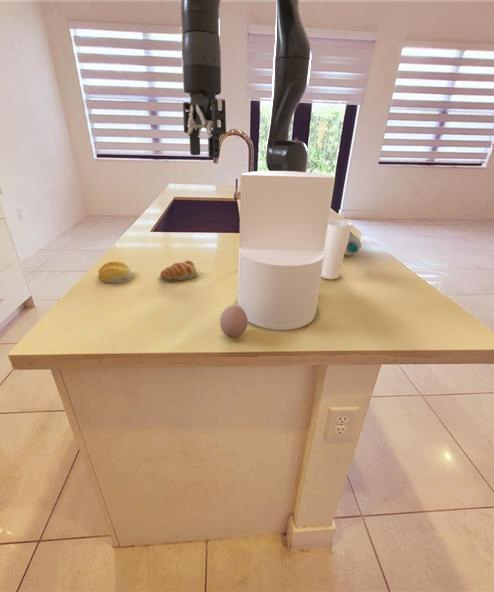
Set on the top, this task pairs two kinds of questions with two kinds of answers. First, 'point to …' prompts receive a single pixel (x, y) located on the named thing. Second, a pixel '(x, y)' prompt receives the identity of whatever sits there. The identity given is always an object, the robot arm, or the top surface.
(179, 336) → the top surface
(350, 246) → the detergent
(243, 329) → the egg
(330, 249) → the drinking glass
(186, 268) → the pastry
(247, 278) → the white chair
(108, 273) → the bread roll
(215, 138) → the robot arm
